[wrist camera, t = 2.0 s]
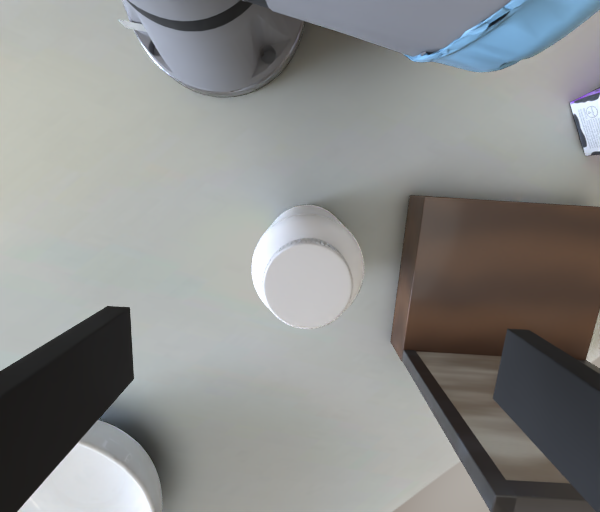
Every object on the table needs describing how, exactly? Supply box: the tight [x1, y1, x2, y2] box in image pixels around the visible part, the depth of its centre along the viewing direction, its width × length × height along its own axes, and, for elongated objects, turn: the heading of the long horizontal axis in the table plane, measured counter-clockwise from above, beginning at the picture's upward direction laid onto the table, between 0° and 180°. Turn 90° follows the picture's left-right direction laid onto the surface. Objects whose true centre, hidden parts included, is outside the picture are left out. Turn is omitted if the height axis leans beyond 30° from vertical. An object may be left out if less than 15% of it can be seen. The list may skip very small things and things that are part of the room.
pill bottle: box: [251, 205, 364, 329], centre depth 25 cm, size 8×8×15 cm
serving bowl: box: [17, 420, 162, 512], centre depth 35 cm, size 21×21×7 cm
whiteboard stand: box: [391, 195, 600, 512], centre depth 24 cm, size 16×18×19 cm
